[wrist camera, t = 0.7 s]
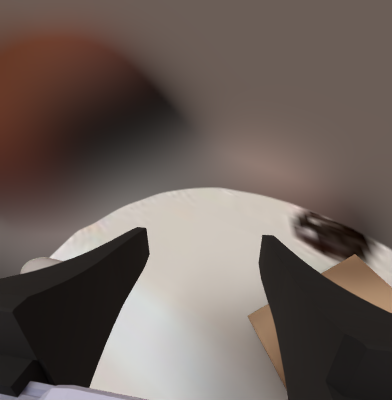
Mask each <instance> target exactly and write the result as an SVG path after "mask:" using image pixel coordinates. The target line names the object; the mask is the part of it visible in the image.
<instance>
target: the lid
mask: <svg viewBox="0 0 392 400" xmlns="http://www.w3.org/2000/svg"><path fill="white" fill-rule="evenodd" d="M322 275H323V276H325V277H326V278H328V279H330V280H331V281H333V282H334V283H336V284H337V285H339V286H341V287H342V288H344V289H346V290H348V291H349V292H351V293H353V294H355V295H357V296H358V297H360V298H362V299H364V300H366V301H368V302H370V303H372V304H374V305H376V306H378V307H380V308H382V309H384V310H386V311H388V312H390V313H392V287H390V286H389V285H388V284H387V283H386V282H385V281H384V280H383V279H382V278H381V277H379V276H378V275H377V274H376V273H375V272H374V271H373V270H372V269H371V268H370V267H369V266H367V265H366V264H365V263H364V262H363V261H362V260H361V259H360V258H359V257H358V256H356V255H353V256H351V257H349V258H348V259H346V260H344V261H342V262H341V263H339V264H337V265H335V266H334V267H332V268H330V269H328V270H327V271H325V272H323V273H322ZM248 318H249V320H250V322H251V324H252V325H253V327H254V329H255V331H256V333H257V335H258V337H259V339H260V340H261V342H262V344H263V346H264V348H265V350H266V352H267V354H268V356H269V357H270V359H271V361H272V363H273V365H274V367H275V369H276V371H277V372H278V374H279V376H280V378H281V380H282V382H283V384H284V386H285V388H286V382H285V376H284V370H283V365H282V360H281V354H280V349H279V344H278V339H277V334H276V329H275V324H274V320H273V317H272V313H271V310H270V307H269V304H268V305H266V306H264V307H262V308H261V309H259V310H257V311H255V312H254V313H252V314H250V315H248ZM286 389H287V388H286Z"/></svg>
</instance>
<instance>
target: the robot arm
mask: <svg viewBox="0 0 392 400" xmlns="http://www.w3.org/2000/svg"><path fill="white" fill-rule="evenodd" d="M149 255H150V253H149V245H148V238H147V230H146V228H141V227H137V228H134V229H132V230H130V231H128V232H126V233H125V234H123V235H121V236H119V237H117V238H115V239H113V240H112V241H110V242H108V243H106V244H104V245H102V246H100V247H98V248H95V249H93V250H91V251H89V252H87V253H84V254H82V255H80V256H77V257H75V258H72V259H69V260H66V261H63V262H60V263H58V264H55V265H52V266H49V267H45V268H42V269H38V270H35V271H31V272H27V273H23V274H19V275H15V276H10V277H6V278H1V279H0V400H147V399H142V398H137V397H132V396H127V395H122V394H116V393H111V392H106V391H101V390H96V389H91V388H89V387H90V384H91V381H92V378H93V376H94V373H95V370H96V367H97V365H98V362H99V360H100V357H101V355H102V352H103V350H104V347H105V345H106V342H107V340H108V338H109V335H110V333H111V331H112V328H113V326H114V324H115V321H116V319H117V317H118V315H119V313H120V310H121V308H122V306H123V304H124V302H125V300H126V299H127V297H128V295H129V293H130V292H131V290H132V288H133V287H134V285H135V283H136V281H137V280H138V278H139V276H140V274H141V273H142V271H143V269H144V267H145V265H146V262H147V260H148V257H149ZM259 268H260V275H261V280H262V283H263V287H264V290H265V293H266V297H267V300H268V303H269V307H270V310H271V313H272V317H273V320H274V324H275V329H276V334H277V339H278V344H279V349H280V354H281V360H282V365H283V370H284V376H285V382H286V388H287V394H288V400H392V313H390V312H388V311H386V310H384V309H382V308H380V307H378V306H376V305H374V304H372V303H370V302H368V301H366V300H364V299H362V298H360V297H358V296H357V295H355V294H353V293H351V292H349V291H348V290H346V289H344V288H342V287H341V286H339V285H337V284H336V283H334V282H333V281H331V280H330V279H328V278H326V277H325V276H323V275H322V274H320V273H319V272H317V271H316V270H315V269H313V268H312V267H311V266H309V265H308V264H307V263H305V262H304V261H303V260H301V259H300V258H299V257H298V256H297V255H295V254H294V253H293V252H292V251H291V250H289V249H288V248H287V247H286V246H285V245H284V244H283V243H281V242H280V241H279V240H278V239H277V238H276V237H275V236H272V235H262V242H261V250H260V257H259Z"/></svg>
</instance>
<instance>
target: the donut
mask: <svg viewBox="0 0 392 400" xmlns="http://www.w3.org/2000/svg"><path fill="white" fill-rule="evenodd" d="M60 262H63V261H60V260H56V259H51V258H45V257H39V258H35V259H32V260H30V261H29V262H27V263H26V264H25V265H24V266H23V268H22V270H21V274H23V273H27V272H31V271H35V270H38V269H42V268H45V267H49V266H52V265H55V264H58V263H60Z"/></svg>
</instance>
